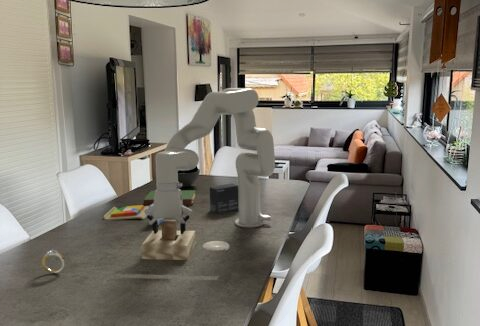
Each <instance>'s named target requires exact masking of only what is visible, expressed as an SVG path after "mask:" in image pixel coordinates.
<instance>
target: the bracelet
mask: <svg viewBox="0 0 480 326" xmlns="http://www.w3.org/2000/svg"><path fill="white" fill-rule="evenodd" d="M50 256H56V257H58V258H59V259H60V262H61V266H60V268H59V269H57V270H56V269H53V270H52V269H50V268H49V267H48V266H47V264H46V259H47V258H49V257H50ZM65 262H66V260H65V257H64V255H62V254H61V253H60V252H58V250H57V249H56V250H55V249H50V250H48V251H46V254H44V256H43V257H42V259H41V264H42V267H43V268H44V270H45V271H46V272H48V273H50V274H53V273H55V274H57V273H60V272H61V271H62V270H63V269H64V268H65V264H66V263H65Z"/></svg>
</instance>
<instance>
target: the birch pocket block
mask: <svg viewBox="0 0 480 326" xmlns="http://www.w3.org/2000/svg"><path fill="white" fill-rule="evenodd" d="M196 244H197V243H196V230H185V231H184V233H183V234H181V230H178V229H177V240H176V241H165V240H162V229H158V232H157V233H156V234H154V231H153V230H151V233H149V235H148V236H147V237H146V239H145V240H144V241H143V243H142V244H141V245H140V246H141V260H165V261H167V260H172V261H174V260H175V261H176V260H177V261H188V260H189V258H190V256H191V255H192V252H193V250H194V247H195V246H196Z"/></svg>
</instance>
